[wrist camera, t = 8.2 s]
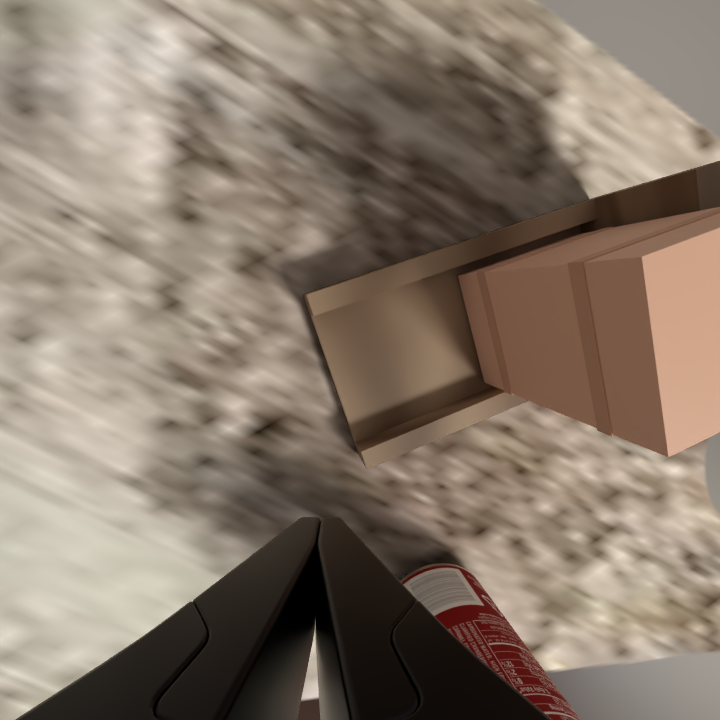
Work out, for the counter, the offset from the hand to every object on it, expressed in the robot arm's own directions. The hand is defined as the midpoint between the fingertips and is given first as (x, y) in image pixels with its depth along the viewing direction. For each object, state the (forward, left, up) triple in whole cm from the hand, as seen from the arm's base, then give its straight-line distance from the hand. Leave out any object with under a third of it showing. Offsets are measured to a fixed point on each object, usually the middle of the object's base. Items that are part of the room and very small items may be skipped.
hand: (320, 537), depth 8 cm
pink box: (+12, +6, -11) cm, 17 cm away
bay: (+10, +5, -12) cm, 16 cm away
